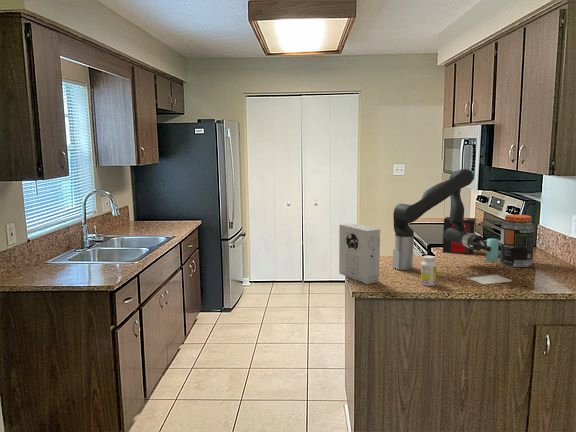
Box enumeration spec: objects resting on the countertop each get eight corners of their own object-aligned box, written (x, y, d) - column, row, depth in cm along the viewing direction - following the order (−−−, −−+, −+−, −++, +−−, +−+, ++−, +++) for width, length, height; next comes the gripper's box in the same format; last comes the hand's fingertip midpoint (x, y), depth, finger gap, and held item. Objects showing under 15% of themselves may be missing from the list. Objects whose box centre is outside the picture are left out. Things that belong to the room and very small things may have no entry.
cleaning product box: (442, 252, 278) (444, 218, 275) (444, 249, 286) (446, 216, 283) (472, 255, 271) (474, 220, 268) (474, 251, 279) (475, 218, 276)
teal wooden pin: (491, 262, 216) (492, 241, 215) (483, 259, 221) (484, 239, 220) (500, 261, 218) (501, 240, 216) (492, 258, 223) (493, 238, 221)
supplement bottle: (433, 281, 219) (434, 254, 217) (437, 286, 212) (439, 258, 210) (418, 282, 219) (419, 255, 217) (423, 286, 212) (424, 258, 210)
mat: (483, 284, 214) (483, 283, 214) (466, 277, 225) (466, 276, 225) (512, 281, 218) (512, 280, 218) (494, 274, 230) (494, 273, 230)
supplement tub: (531, 262, 253) (534, 214, 250) (533, 269, 239) (537, 218, 235) (499, 259, 260) (501, 213, 256) (499, 266, 245) (502, 217, 241)
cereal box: (379, 282, 220) (380, 229, 216) (366, 284, 216) (367, 230, 212) (351, 271, 238) (351, 222, 234) (338, 273, 234) (339, 224, 231)
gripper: (460, 234, 231) (481, 242, 214) (486, 233, 234) (509, 240, 217) (460, 249, 232) (481, 258, 216) (485, 248, 235) (508, 256, 219)
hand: (495, 249), depth 217 cm, fingers closed on teal wooden pin, 5 cm apart
